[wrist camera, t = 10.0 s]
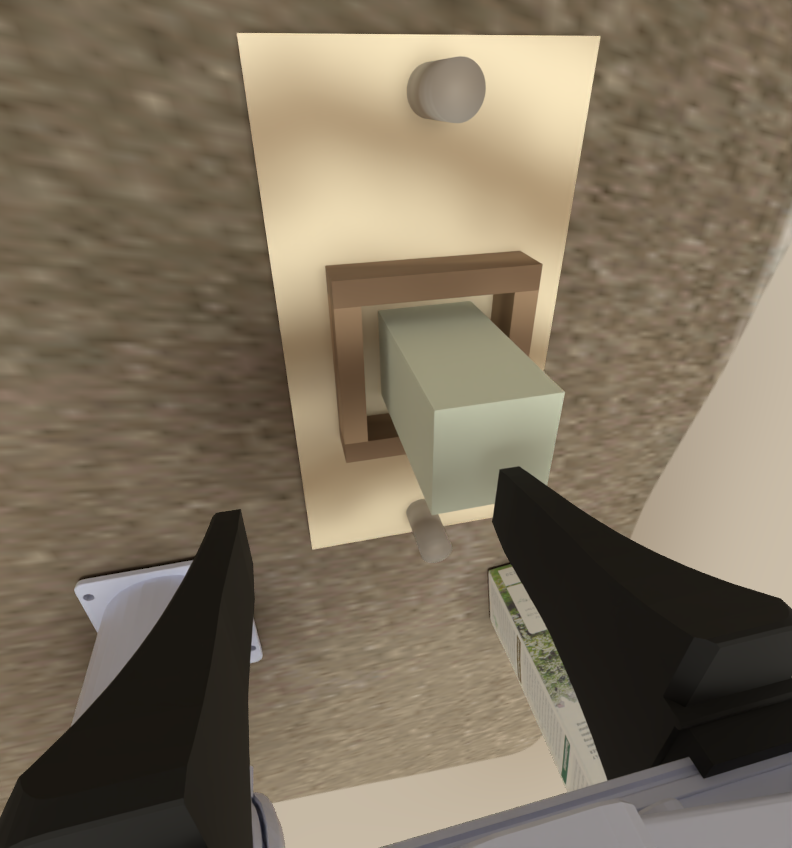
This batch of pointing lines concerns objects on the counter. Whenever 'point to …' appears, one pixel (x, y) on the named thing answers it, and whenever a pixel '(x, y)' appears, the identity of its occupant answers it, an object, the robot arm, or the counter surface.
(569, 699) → the syrup box
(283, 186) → the socket plate
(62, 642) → the counter surface
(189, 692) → the robot arm
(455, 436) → the sage peg
